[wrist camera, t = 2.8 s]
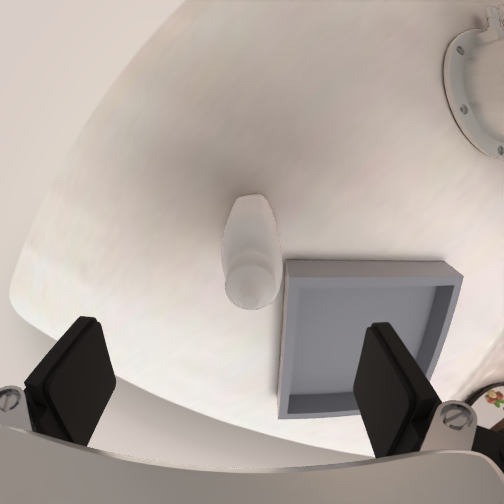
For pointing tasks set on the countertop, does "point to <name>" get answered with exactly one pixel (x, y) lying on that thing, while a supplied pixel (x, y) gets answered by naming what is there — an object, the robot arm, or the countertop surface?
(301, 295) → the dish
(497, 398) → the spread jar
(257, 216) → the eye dropper bottle
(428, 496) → the robot arm
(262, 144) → the countertop surface
